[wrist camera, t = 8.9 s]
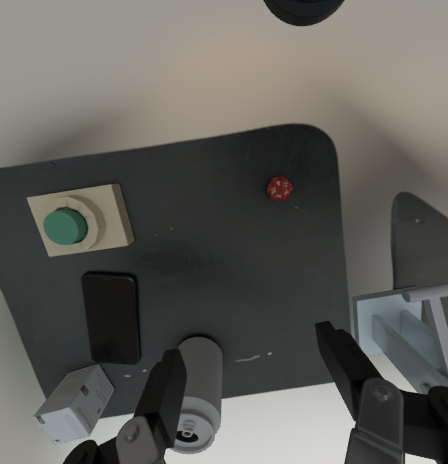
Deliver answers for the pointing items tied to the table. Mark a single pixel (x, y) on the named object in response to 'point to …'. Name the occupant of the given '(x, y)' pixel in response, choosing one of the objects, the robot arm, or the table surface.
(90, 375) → the white cardboard box
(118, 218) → the green push button box
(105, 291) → the smartphone
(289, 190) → the die
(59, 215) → the flush button
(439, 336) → the flush lever
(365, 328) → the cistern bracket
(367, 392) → the robot arm
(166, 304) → the table surface
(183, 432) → the can
